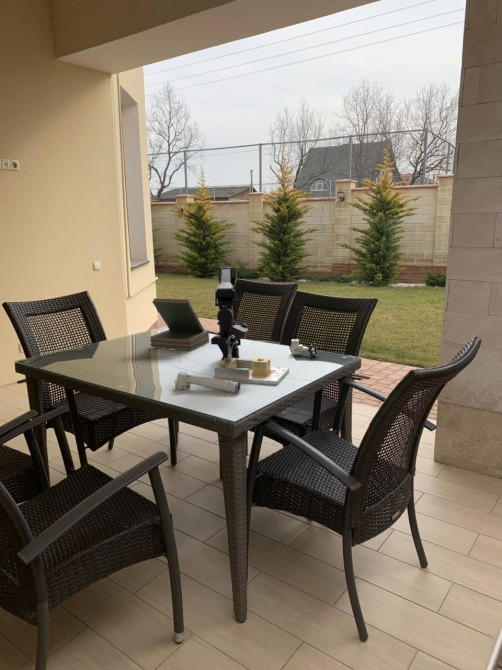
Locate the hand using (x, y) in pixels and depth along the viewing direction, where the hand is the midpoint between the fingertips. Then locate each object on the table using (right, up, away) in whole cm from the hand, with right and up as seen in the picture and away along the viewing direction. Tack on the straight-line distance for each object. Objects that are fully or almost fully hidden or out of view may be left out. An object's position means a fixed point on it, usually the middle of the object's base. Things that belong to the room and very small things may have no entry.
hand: (227, 357), depth 196 cm
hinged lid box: (-27, +3, +53) cm, 59 cm away
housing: (+13, -6, -3) cm, 15 cm away
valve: (+33, -1, +27) cm, 42 cm away
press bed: (+10, -7, -2) cm, 12 cm away
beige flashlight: (-7, -12, -17) cm, 22 cm away
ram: (0, -5, +1) cm, 5 cm away
